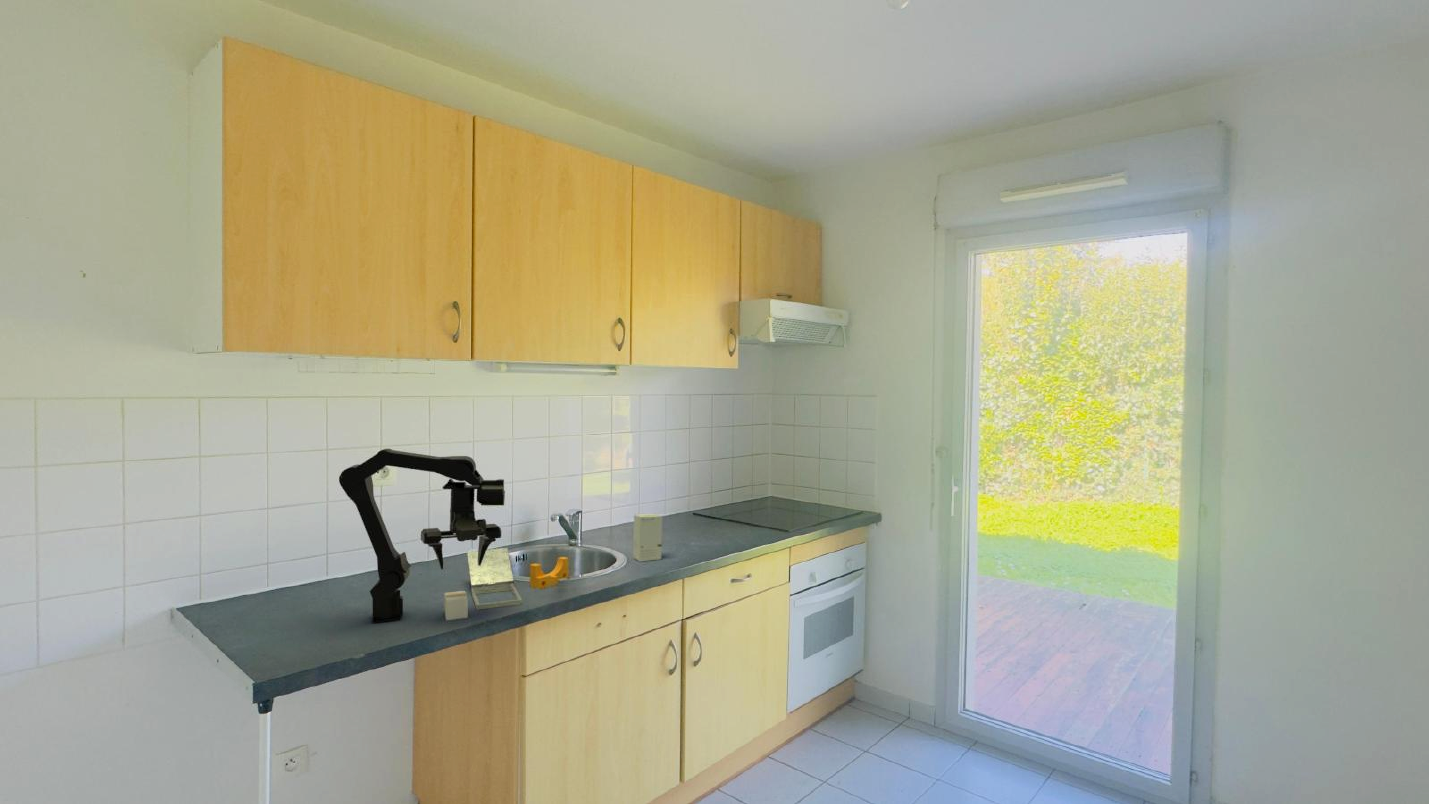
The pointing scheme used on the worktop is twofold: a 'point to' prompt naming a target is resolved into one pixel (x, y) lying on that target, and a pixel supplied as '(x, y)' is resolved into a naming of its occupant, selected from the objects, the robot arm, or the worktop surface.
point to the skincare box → (647, 537)
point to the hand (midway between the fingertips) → (460, 567)
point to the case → (492, 576)
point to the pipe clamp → (545, 580)
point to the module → (455, 605)
